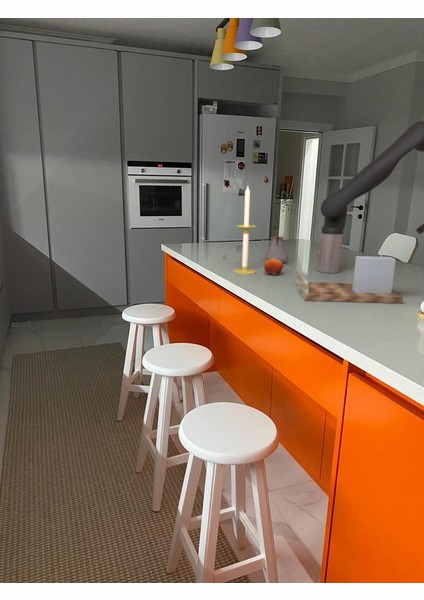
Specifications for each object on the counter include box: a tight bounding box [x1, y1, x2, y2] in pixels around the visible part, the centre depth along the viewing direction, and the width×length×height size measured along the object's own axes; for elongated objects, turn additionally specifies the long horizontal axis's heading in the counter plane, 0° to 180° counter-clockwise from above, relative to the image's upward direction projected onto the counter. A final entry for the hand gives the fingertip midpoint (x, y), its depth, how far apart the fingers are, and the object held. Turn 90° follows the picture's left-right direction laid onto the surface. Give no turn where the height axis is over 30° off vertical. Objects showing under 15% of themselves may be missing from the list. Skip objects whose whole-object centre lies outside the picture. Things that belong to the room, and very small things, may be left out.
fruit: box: [264, 259, 284, 276], centre depth 183 cm, size 8×8×8 cm
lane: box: [295, 271, 404, 305], centre depth 149 cm, size 32×20×6 cm, turn 88°
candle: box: [232, 185, 257, 275], centre depth 183 cm, size 10×10×38 cm
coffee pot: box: [264, 235, 288, 265], centre depth 207 cm, size 21×12×15 cm, turn 172°
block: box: [352, 255, 396, 293], centre depth 148 cm, size 12×5×12 cm, turn 88°
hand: (420, 231), depth 146 cm, fingers open, 8 cm apart
